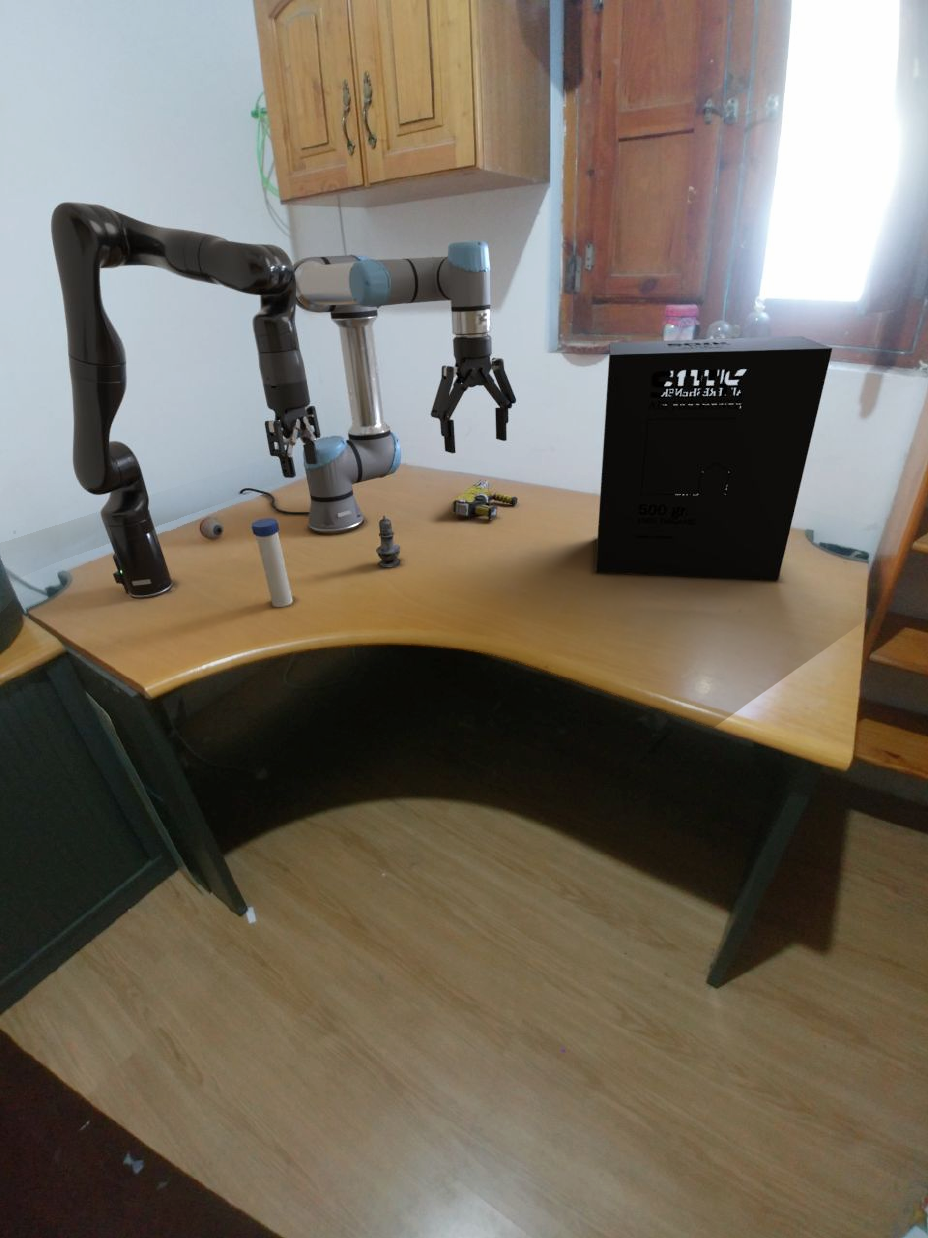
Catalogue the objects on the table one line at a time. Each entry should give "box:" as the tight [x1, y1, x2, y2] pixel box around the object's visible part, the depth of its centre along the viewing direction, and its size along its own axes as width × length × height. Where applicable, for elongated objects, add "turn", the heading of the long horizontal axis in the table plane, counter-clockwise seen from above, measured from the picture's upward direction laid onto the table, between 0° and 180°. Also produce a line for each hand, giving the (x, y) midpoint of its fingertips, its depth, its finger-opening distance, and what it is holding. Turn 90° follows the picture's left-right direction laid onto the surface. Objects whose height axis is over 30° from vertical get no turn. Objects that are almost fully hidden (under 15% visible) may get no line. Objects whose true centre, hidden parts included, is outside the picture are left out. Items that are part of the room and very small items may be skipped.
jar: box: [255, 531, 294, 608], centre depth 126 cm, size 4×4×18 cm
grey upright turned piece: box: [375, 515, 402, 568], centre depth 142 cm, size 6×6×12 cm
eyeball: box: [198, 516, 224, 541], centre depth 163 cm, size 6×6×6 cm
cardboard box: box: [595, 335, 833, 581], centre depth 128 cm, size 38×20×45 cm, turn 78°
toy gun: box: [452, 479, 518, 521], centre depth 175 cm, size 5×24×15 cm
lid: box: [251, 517, 280, 537], centre depth 122 cm, size 5×5×2 cm
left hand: (301, 470), depth 113 cm, fingers open, 8 cm apart
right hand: (476, 445), depth 127 cm, fingers open, 13 cm apart
